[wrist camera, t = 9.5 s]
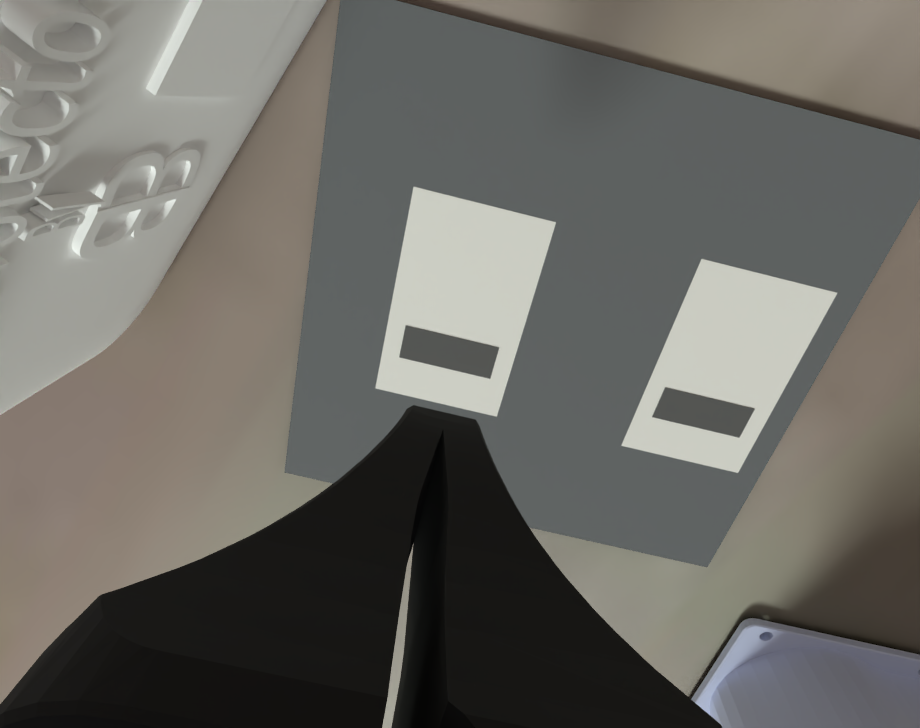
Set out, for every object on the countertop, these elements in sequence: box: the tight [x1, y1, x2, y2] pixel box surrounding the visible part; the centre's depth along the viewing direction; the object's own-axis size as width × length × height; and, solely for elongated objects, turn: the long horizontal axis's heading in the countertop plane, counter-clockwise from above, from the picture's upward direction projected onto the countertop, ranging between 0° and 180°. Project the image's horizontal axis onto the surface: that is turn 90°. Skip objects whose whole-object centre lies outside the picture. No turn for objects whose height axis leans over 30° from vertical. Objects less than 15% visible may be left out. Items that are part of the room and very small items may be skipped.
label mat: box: [285, 0, 920, 567], centre depth 18 cm, size 17×16×1 cm
